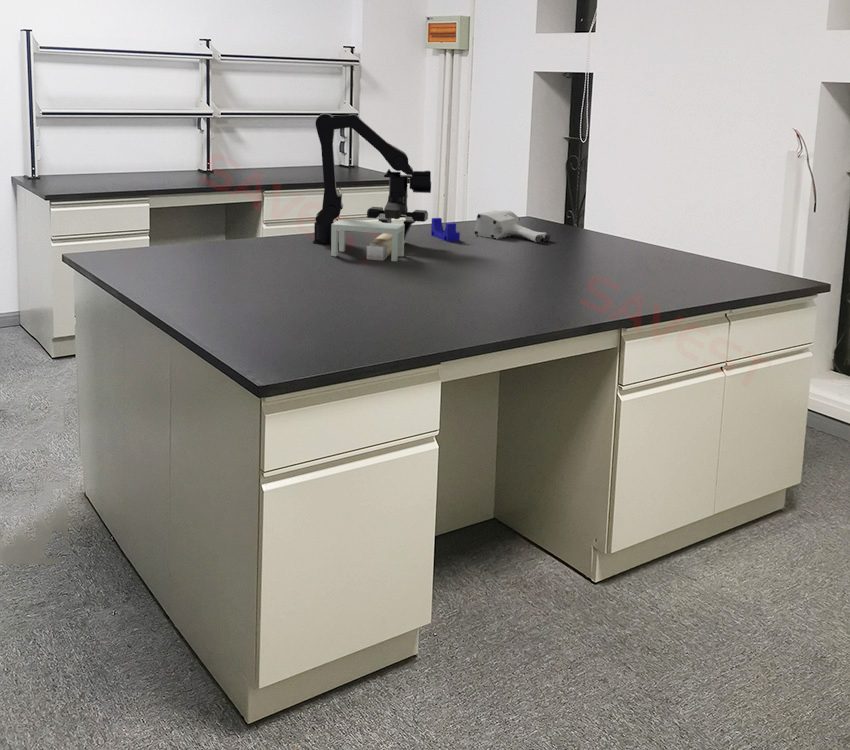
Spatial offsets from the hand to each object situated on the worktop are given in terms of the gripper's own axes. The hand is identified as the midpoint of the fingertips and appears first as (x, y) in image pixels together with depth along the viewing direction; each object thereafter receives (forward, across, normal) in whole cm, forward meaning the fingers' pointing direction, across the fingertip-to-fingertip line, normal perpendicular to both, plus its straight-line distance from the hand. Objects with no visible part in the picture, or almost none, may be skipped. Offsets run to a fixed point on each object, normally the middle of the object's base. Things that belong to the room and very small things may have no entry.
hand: (396, 241), depth 316 cm
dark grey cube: (+1, 0, -24) cm, 24 cm away
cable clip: (+1, +12, +17) cm, 21 cm away
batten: (+1, 0, -9) cm, 9 cm away
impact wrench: (+2, +36, +31) cm, 48 cm away
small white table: (+1, -4, -22) cm, 22 cm away
